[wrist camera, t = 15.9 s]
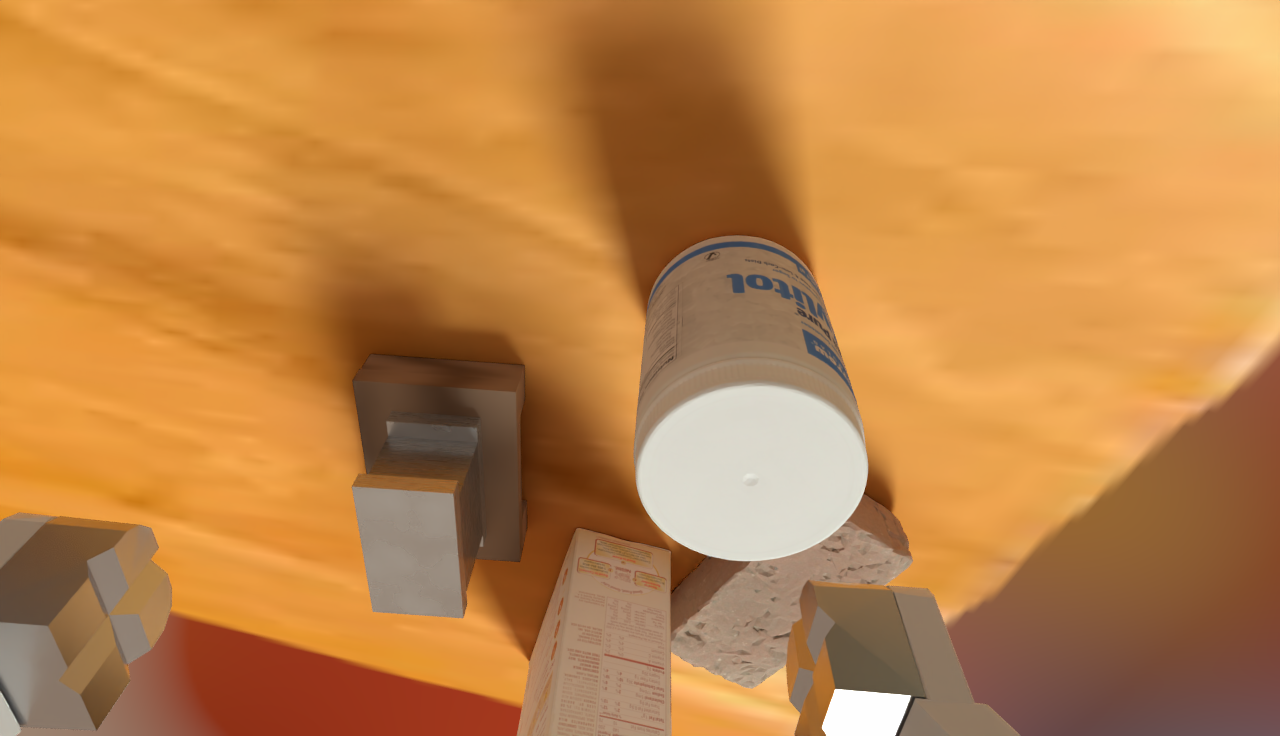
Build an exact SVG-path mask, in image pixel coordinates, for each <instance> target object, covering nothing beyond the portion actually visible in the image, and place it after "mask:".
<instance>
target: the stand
mask: <svg viewBox="0 0 1280 736" xmlns="http://www.w3.org/2000/svg"><path fill="white" fill-rule="evenodd" d="M353 387H354V393H355V400H356V407H357V413H358V420H359V426H360V433H361V439H362V446H363V452H364V459H365V465H366V472H367V474H369V473H370V471H371V469H372V467H373V465H374V463H375V461H376V459H377V457H378V455H379V453H380V451H381V449H382V447H383V445H384V443H385V441H386V439H387V437H388V431H387V423H386V421H387V419H388V417H389V415H390V413H391V411H398V412H412V413H426V414H440V415H454V416H468V417H480V418H481V437H482V456H483V474H484V493H485V512H486V531H487V536H486V540H485V543H484V547H480V546H479V550H478V553H477V557H476V559H485V560H500V561H514V562H520V559H521V555H522V550H523V545H524V540H525V536H526V531H527V501H525V500H522V478H521V429H520V416H521V412H522V409H523V405H524V401H525V365H515V364H501V363H487V362H473V361H459V360H446V359H432V358H418V357H404V356H390V355H376V354H370V356H369V357H368V359H367V360H366V362H365V363H364V365H363V367H362V368H361V369H359V371H358V373H357V374H356V376H355V377H354V379H353Z"/></svg>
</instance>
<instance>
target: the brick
mask: <svg viewBox="0 0 1280 736" xmlns="http://www.w3.org/2000/svg"><path fill="white" fill-rule="evenodd" d="M908 548H909V542H908V539H907V536H906V534H905V533H904V531H903V528H902V526H901V523H900V521H899V520H898V519H897V518H896V517H895V516H894V515H893V514H892V512H890V511H889V510H888V509H886V508H885V507H884V506H883V505H881V504H879V503H877V502H876V501H874V500H872V499H871V498H870V497H868V496H867V495H865V494H863V496H862V498H861V500H860V502H859V504H858V506H857V507H856V509H855V510H854V512H853V514H852V515H851V516H850V517H849V518H848V520H847V521H846V522H845V523H844V524H843V525H842V526H841V527H840V528H839V529H838V530H836V531H835V532H834V533H833V534H832V535H830V536H829V537H828V538H826V539H825V540H823V541H821V542H820V543H818V544H816V545H814V546H812V547H810V548H808V549H806V550H803V551H801V552H798V553H795V554H792V555H789V556H785V557H781V558H776V559H770V560H762V561H735V560H726V559H721V558H716V557H712V556H707V557H706V558H705V559H704V560H703V561H702V563H701V564H700V565H699V566H698V568H697V569H695V570H694V571H693V572H692V573H690V574H689V575H688V576H687V578H685V579H684V580H683V581H682V582H681V584H680V585H679V586H678V587H677V588H676V589H675V590H674V592H673V593H672V594H671V652H672V653H673V654H675V655H677V656H679V657H680V658H681V659H682V660H684V661H686V662H689V663H690V664H691V665H693V666H694V667H704V668H705V669H707V670H708V671H709V672H711V673H713V674H715V675H721V676H723V677H724V679H726V680H729V681H731V682H735V683H737V684H739V685H741V686H743V687H746V688H751V689H752V688H754V687H756V686H757V685H759V684H760V683H762V682H763V681H764V680H765V679H766V678H768V677H769V676H771V675H773V674H774V673H775V672H777V671H778V670H779V669H781V668H783V667H784V666H785V664H786V661H787V649H788V641H789V637H790V633H791V628H792V625H793V624H794V623H796V622H797V621H798V620H800V619H801V618H802V615H801V609H800V604H799V599H800V596H801V592H802V589H803V586H804V585H805V583H806V582H807V580H819V581H832V582H846V583H860V584H874V585H886V584H887V583H888V582H890V581H891V580H893V579H894V578H896V577H897V576H898V575H899V574H900V573H902V572H903V571H904V570H906V569H907V568H908V567H909V566H910V565H911V563H912V562H913V559H912V556H911V553H910V551H908Z"/></svg>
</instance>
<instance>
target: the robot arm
mask: <svg viewBox="0 0 1280 736" xmlns="http://www.w3.org/2000/svg"><path fill="white" fill-rule="evenodd" d="M158 548H159V547H158V544H157V542H156V539H155V537H154V534H153V531H152V529H151V528H149V527H146V526H142V525H137V524H127V523H118V522H109V521H100V520H91V519H81V518H72V517H63V516H60V517H57V516H47V515H38V514H28V513H17V514H14V515H12V516H9V517H7V518H4V519H3V520H2V521H0V736H16V735H17V734H18V733H20V732H21V730H22V729H21V728H20V727H31V728H32V727H33V728H51V729H71V730H91V731H97V730H98V728H99V727H100V725H101V724H102V722H103V721H104V719H105V718H106V716H107V715H108V713H109V712H110V710H111V709H112V707H113V705H114V704H115V703H116V701H117V700H118V698H119V697H120V695H121V694H122V693H123V691H124V689H125V688H126V686H127V685H128V684H129V682H130V676H129V669H128V664H129V663H131V662H132V661H134V660H135V659H137V658H138V657H140V656H142V655H143V654H145V653H146V652H148V651H150V650H151V649H152V648H153V646H154V645H155V643H156V641H157V640H158V638H159V637H160V635H161V633H162V632H163V630H164V628H165V625H166V622H167V619H168V616H169V613H170V609H171V606H172V587H171V584H170V581H169V577H168V574H167V573H166V572H165V571H164V570H163V569H161V568H160V567H159V566H158V565H157V564H155V563H154V562H153V561H152V560H151V558H152V557H153V555H154V554H155V552H156V551H157V550H158ZM799 604H800V609H801V615H802V618H801V619H800V620H798V621H797V622H796V623H794V624H793V625H792V628H791V633H790V637H789V641H788V649H787V661H786V671H787V685H788V693H789V700H790V702H791V703H792V704H793V705H794V706H795V708H796V709H797V710H798V711H799V712H800V713H801V714H800V717H799V721H798V724H797V727H796V731H795V736H1020V735H1019V734H1018V733H1017V732H1016V731H1015V730H1014V729H1013V728H1012V727H1011V726H1010V725H1009V724H1008V723H1007V722H1005V721H1004V720H1003V719H1002V718H1001V717H1000V716H999V715H998V714H997V713H996V712H995V711H994V710H993V709H992V708H991V707H990V706H988V705H987V704H979V703H975V702H974V700H973V697H972V694H971V692H970V689H969V687H968V684H967V681H966V679H965V676H964V673H963V671H962V668H961V665H960V663H959V660H958V658H957V655H956V652H955V650H954V647H953V644H952V642H951V639H950V636H949V634H948V631H947V629H946V626H945V623H944V621H943V618H942V615H941V613H940V610H939V608H938V605H937V602H936V600H935V597H934V595H933V594H932V593H931V592H930V591H929V590H928V589H926V588H912V587H899V586H886V587H885V586H884V585H874V584H860V583H846V582H832V581H819V580H807V582H806V583H805V585H804V586H803V589H802V592H801V596H800V599H799Z"/></svg>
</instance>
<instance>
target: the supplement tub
mask: <svg viewBox="0 0 1280 736" xmlns="http://www.w3.org/2000/svg"><path fill="white" fill-rule="evenodd" d="M634 464H635V470H636V484H637V490H638V494H639V497H640V499H641V502H642V504H643V506H644V508H645V510H646V511H647V513H648V514H649V516H650V517H651V519H652V520H653V521H654V523H655V524H656V525H657V526H658V527H659V528H660V529H661V530H662V531H663V532H665V533H666V534H667V535H668V536H670V537H671V538H672V539H674V540H675V541H677V542H678V543H680V544H682V545H684V546H685V547H688V548H690V549H692V550H694V551H697V552H699V553H702V554H705V555H708V556H712V557H716V558H721V559H726V560H735V561H762V560H770V559H776V558H781V557H785V556H789V555H792V554H795V553H798V552H801V551H803V550H806V549H808V548H810V547H812V546H814V545H816V544H818V543H820V542H821V541H823V540H825V539H826V538H828V537H829V536H830V535H832V534H833V533H834V532H835V531H836V530H838V529H839V528H840V527H841V526H842V525H843V524H844V523H845V522H846V521H847V520H848V518H849V517H850V516H851V515H852V514H853V512H854V510H855V509H856V507H857V506H858V504H859V502H860V500H861V498H862V496H863V493H864V491H865V487H866V482H867V476H868V458H867V452H866V447H865V437H864V429H863V424H862V419H861V416H860V413H859V410H858V406H857V402H856V399H855V396H854V393H853V390H852V386H851V383H850V380H849V377H848V374H847V371H846V368H845V365H844V362H843V359H842V356H841V353H840V350H839V347H838V344H837V340H836V337H835V334H834V331H833V328H832V325H831V322H830V319H829V316H828V313H827V310H826V307H825V304H824V301H823V298H822V295H821V292H820V289H819V287H818V284H817V282H816V280H815V278H814V276H813V275H812V273H811V272H810V270H809V269H808V267H807V266H806V265H805V264H804V263H803V262H802V261H801V260H800V259H799V258H798V257H797V256H796V255H795V254H794V253H792V252H791V251H789V250H788V249H786V248H785V247H783V246H781V245H779V244H777V243H775V242H773V241H770V240H767V239H763V238H759V237H752V236H741V235H733V236H721V237H716V238H711V239H708V240H705V241H702V242H699V243H697V244H695V245H693V246H691V247H689V248H688V249H686V250H684V251H683V252H681V253H680V254H678V255H677V256H676V257H675V258H674V259H673V260H672V261H671V262H670V263H669V264H668V265H667V266H666V267H665V268H664V269H663V270H662V272H661V273H660V275H659V276H658V278H657V280H656V281H655V283H654V286H653V288H652V290H651V294H650V297H649V301H648V307H647V315H646V325H645V335H644V345H643V356H642V365H641V376H640V387H639V397H638V407H637V417H636V430H635V442H634Z"/></svg>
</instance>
